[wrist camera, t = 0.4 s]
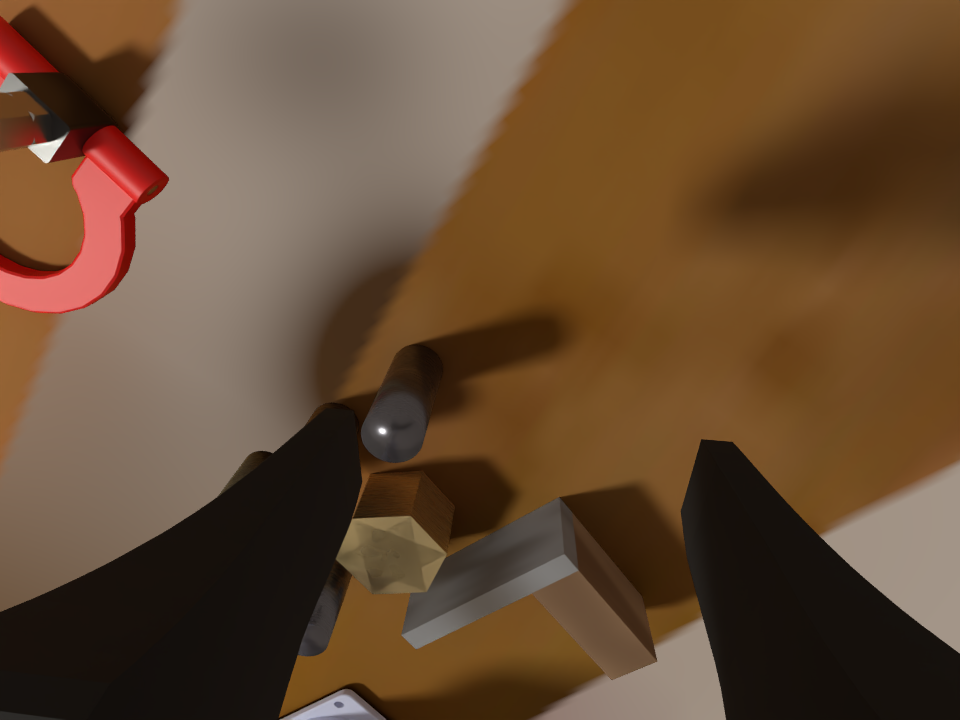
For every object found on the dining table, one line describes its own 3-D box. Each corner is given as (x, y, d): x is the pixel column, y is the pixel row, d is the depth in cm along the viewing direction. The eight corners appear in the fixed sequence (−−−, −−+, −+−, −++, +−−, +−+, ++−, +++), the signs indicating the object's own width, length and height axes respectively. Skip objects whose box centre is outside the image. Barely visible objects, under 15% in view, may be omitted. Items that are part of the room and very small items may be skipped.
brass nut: (427, 558, 28) (416, 609, 25) (347, 528, 27) (327, 577, 24) (464, 486, 26) (457, 534, 23) (379, 453, 25) (361, 497, 23)
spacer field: (338, 569, 28) (302, 662, 24) (230, 468, 26) (168, 548, 22) (526, 462, 25) (527, 546, 20) (421, 335, 23) (395, 398, 18)
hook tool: (501, 659, 30) (498, 726, 27) (415, 573, 28) (401, 635, 25) (642, 595, 28) (657, 661, 25) (559, 496, 26) (564, 554, 22)
